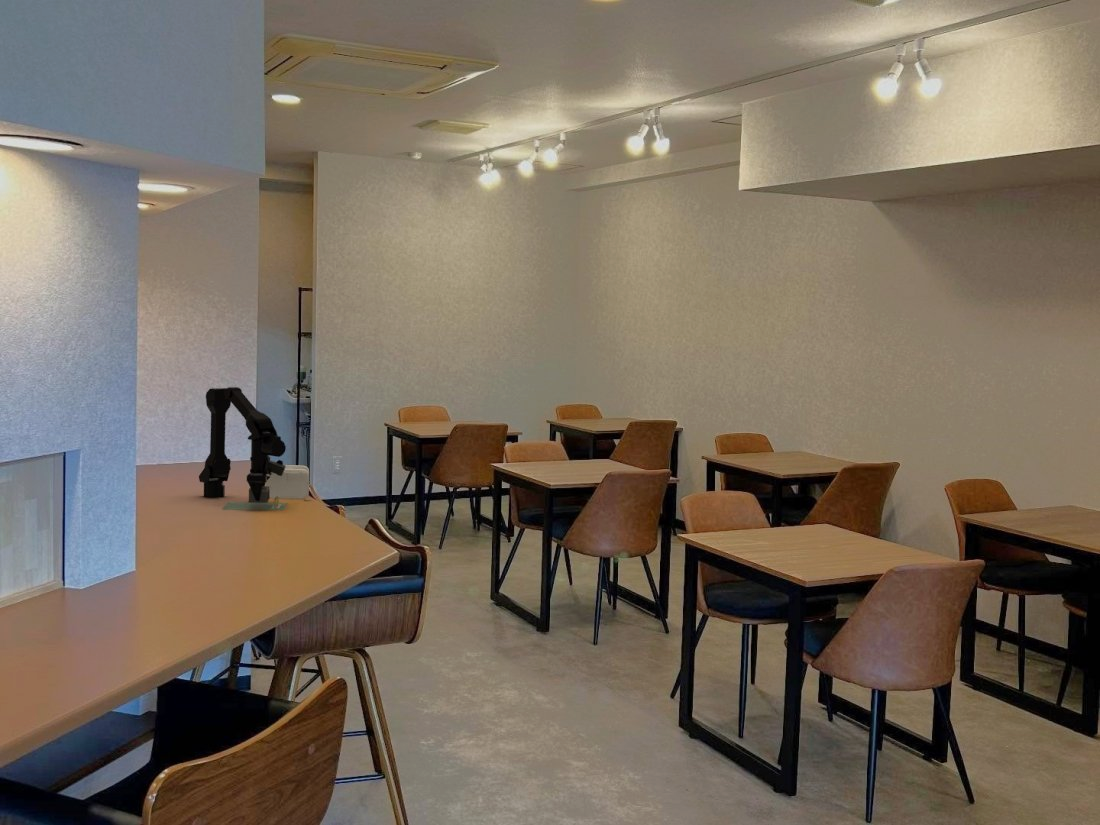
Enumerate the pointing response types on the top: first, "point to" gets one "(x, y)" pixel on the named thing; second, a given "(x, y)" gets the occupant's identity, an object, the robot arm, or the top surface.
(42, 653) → the top surface
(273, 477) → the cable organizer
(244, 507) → the header board
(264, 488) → the plug
